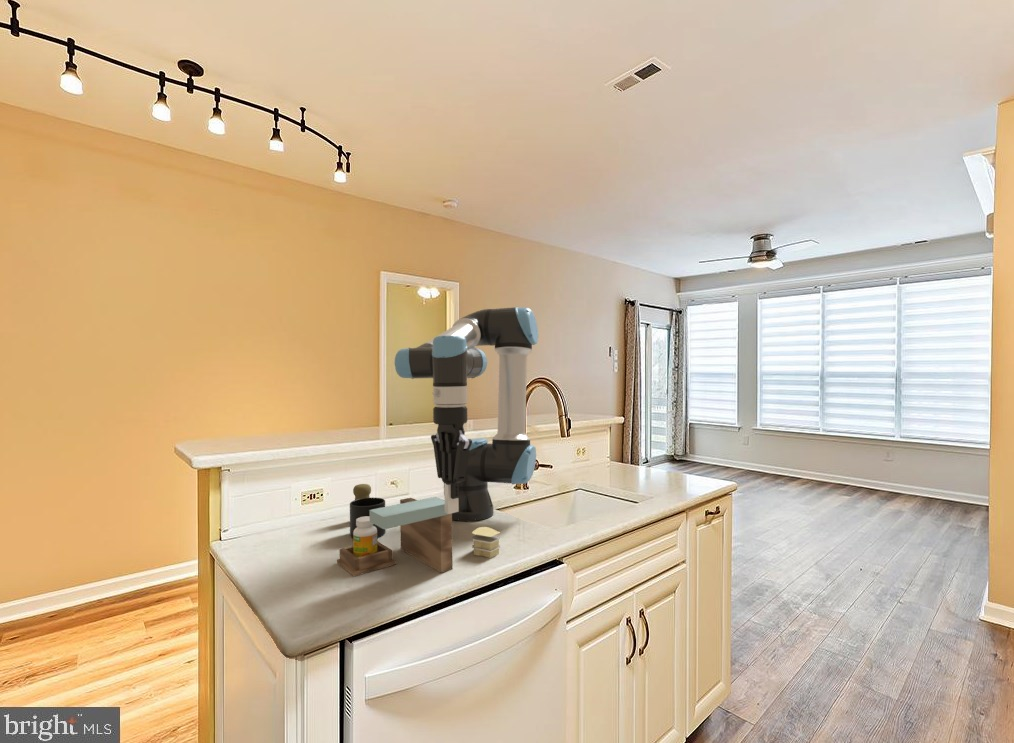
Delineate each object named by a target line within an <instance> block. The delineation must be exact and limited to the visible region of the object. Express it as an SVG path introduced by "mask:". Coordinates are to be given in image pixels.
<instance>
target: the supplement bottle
mask: <svg viewBox="0 0 1014 743" xmlns="http://www.w3.org/2000/svg"><path fill="white" fill-rule="evenodd" d="M356 526H357V528H355V530H354V531H353V538H352V539H353V541H352V542H353V544H352V546H353V555H354V556H356V557H357V558H358V557H362V556H366V555H370V554H373V553H377V541H378V538H377V528H376V527H375V526H373V523H371V522H370V516H365V517H360V518H357V519H356Z"/></svg>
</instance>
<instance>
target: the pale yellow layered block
mask: <svg viewBox="0 0 1014 743" xmlns="http://www.w3.org/2000/svg"><path fill="white" fill-rule="evenodd" d="M500 533H501V532H500V531H497V529H493V528H492V527H489V526H481V527H480V526H479V527H477V528H476V529H474V530H473V531H472V532H471V534H473V536H471V539H472V541H473V544H472V546H471V547H472V549H473V555H474V556H482V557H486V558H489V559H491V558H494V557H495V555H496V556H498V555H499V553H500V548H501V547H502V546H501V545H500V540H501V538H502V537H500V536H497V535H498V534H500ZM493 556H494V557H493Z"/></svg>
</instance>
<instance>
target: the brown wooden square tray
mask: <svg viewBox="0 0 1014 743" xmlns="http://www.w3.org/2000/svg"><path fill="white" fill-rule="evenodd" d="M393 558H394V556H393V549H391V548H390V547H388V546H386V545H384V544H382V543H381V542H380V541H378V540H377V553H373V554H370V555H366V556H362V557H358V558H357V557H356V556H354V555H353V545H350V546H346V547H342V548H339V558H337V559H336V563H337V565H339V566H340V567H341V568H343V570H345V571H346V572H348V573H349V574H350V575H351V576H352V577H356V576H360V575H363V574H367V573H370V572H374V571H378V570H380V569H385V568H388V567H390V566H392V567H393V566H395V565H396V562H397V561H396V560H395V559H393Z"/></svg>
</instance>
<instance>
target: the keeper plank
mask: <svg viewBox="0 0 1014 743" xmlns="http://www.w3.org/2000/svg"><path fill="white" fill-rule="evenodd" d="M416 500H417V501H412V502H407V503H402V504H400V503H398V504H393V505H388V506H385V507H382V508H377V509H372V510H370V522H371V523H373V524H375V525H377V526H379V527H380V528H382V529H386V530H387V529H391V528H392V529H393V528H397V527H400V526H401V525H406V524H410V523H414V522H418V521H423V520H427V519H431V518H436V517H440V516H444V515H448V514H447V513H445V499H442V498H439V497H437V496H433V497H427V498H423V499H416ZM451 514H452V513H451Z"/></svg>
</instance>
